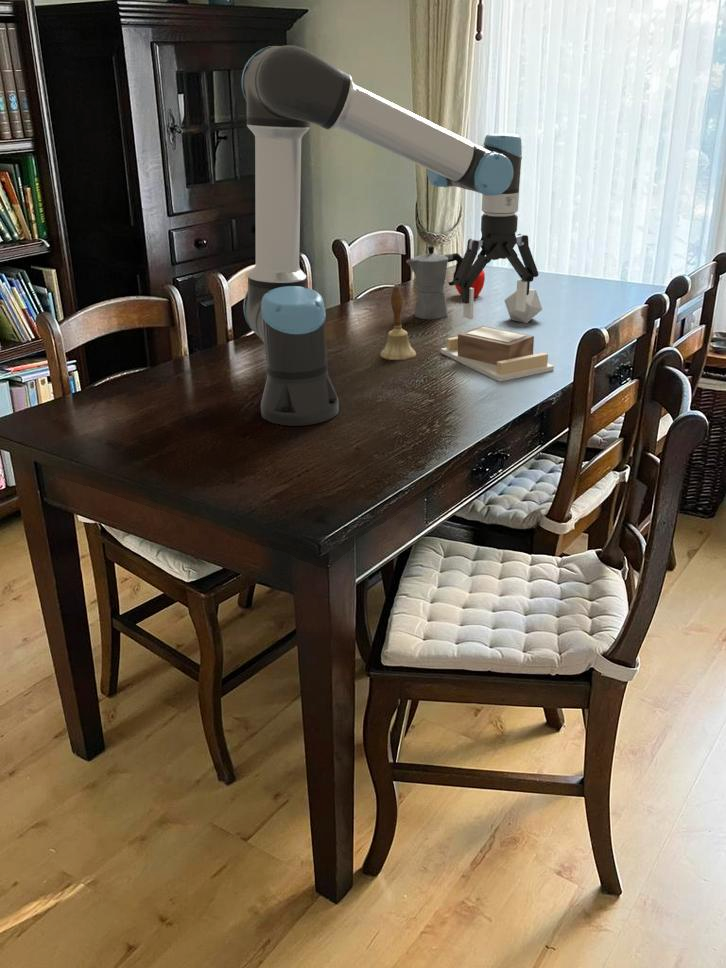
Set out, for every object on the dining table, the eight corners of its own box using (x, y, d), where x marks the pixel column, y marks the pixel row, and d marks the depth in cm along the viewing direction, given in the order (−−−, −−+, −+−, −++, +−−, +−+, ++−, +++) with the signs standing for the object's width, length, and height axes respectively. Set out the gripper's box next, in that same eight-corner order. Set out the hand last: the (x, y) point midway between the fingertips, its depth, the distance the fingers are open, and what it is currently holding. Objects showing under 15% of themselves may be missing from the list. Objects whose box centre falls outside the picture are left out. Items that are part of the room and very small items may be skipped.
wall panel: (499, 381, 188) (499, 361, 186) (440, 352, 208) (440, 334, 206) (553, 370, 193) (554, 351, 192) (491, 343, 213) (492, 325, 211)
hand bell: (413, 360, 203) (412, 290, 196) (377, 359, 205) (375, 290, 198) (418, 350, 210) (418, 282, 204) (383, 349, 212) (382, 281, 205)
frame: (508, 368, 193) (509, 344, 191) (457, 355, 202) (457, 333, 200) (532, 358, 199) (534, 335, 196) (482, 346, 208) (482, 324, 205)
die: (548, 322, 230) (541, 286, 232) (536, 313, 222) (530, 275, 224) (516, 332, 234) (510, 296, 236) (504, 323, 226) (498, 286, 228)
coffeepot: (412, 321, 233) (411, 251, 225) (402, 313, 241) (401, 244, 233) (468, 316, 236) (469, 246, 228) (457, 307, 244) (457, 240, 236)
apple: (453, 292, 260) (453, 265, 256) (484, 292, 259) (484, 265, 255) (453, 300, 252) (453, 272, 248) (484, 300, 251) (485, 272, 247)
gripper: (457, 220, 179) (454, 325, 188) (559, 211, 189) (551, 310, 198) (438, 215, 185) (436, 317, 194) (538, 206, 195) (531, 303, 204)
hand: (494, 314), depth 196 cm, fingers open, 13 cm apart
